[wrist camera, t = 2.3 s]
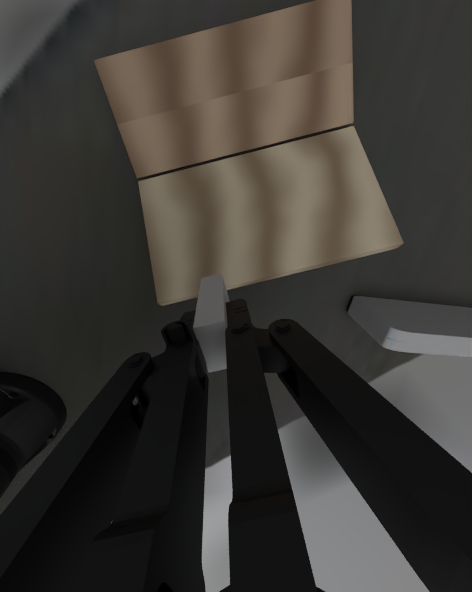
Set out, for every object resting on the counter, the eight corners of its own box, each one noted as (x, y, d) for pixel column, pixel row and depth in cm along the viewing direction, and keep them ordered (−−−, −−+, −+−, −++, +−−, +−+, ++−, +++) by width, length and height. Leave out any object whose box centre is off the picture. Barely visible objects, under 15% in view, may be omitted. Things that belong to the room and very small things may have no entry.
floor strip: (140, 178, 28) (136, 178, 26) (99, 66, 23) (93, 60, 22) (347, 125, 27) (353, 122, 26) (344, 0, 23) (351, -9, 22)
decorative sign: (342, 316, 38) (382, 357, 29) (350, 294, 36) (396, 330, 27) (515, 333, 42) (598, 373, 33) (529, 313, 40) (620, 350, 31)
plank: (162, 305, 25) (157, 303, 23) (142, 188, 28) (138, 181, 27) (396, 248, 24) (403, 243, 23) (349, 135, 27) (353, 125, 26)
